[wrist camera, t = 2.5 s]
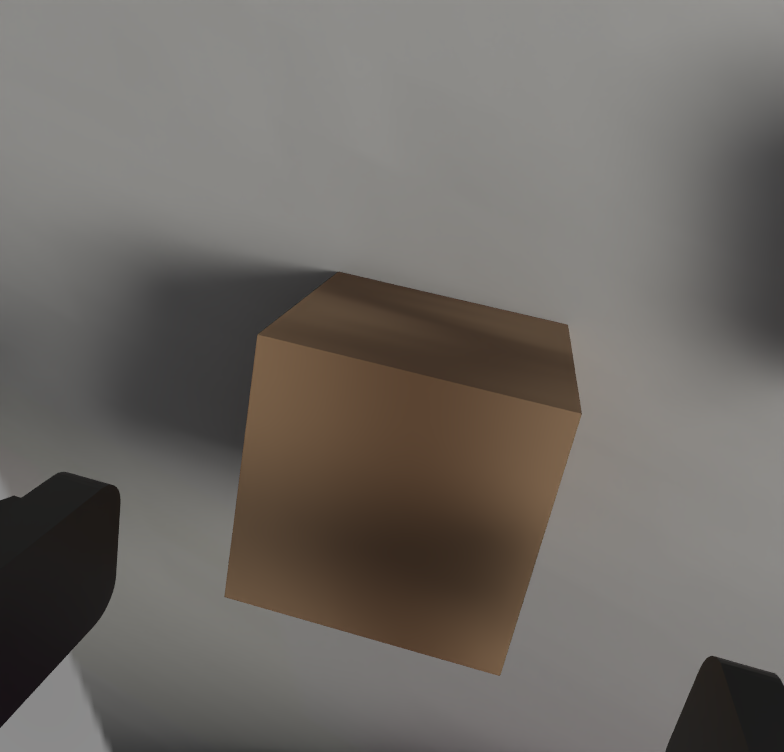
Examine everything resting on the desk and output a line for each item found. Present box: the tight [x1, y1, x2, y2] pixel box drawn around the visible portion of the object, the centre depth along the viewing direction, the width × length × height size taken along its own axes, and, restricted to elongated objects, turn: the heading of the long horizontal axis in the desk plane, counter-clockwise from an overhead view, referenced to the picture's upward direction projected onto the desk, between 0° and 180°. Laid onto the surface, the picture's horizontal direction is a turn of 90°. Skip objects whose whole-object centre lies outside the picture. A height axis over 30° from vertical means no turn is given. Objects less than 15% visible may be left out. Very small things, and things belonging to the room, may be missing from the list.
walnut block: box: [225, 272, 582, 676], centre depth 14 cm, size 5×5×5 cm
